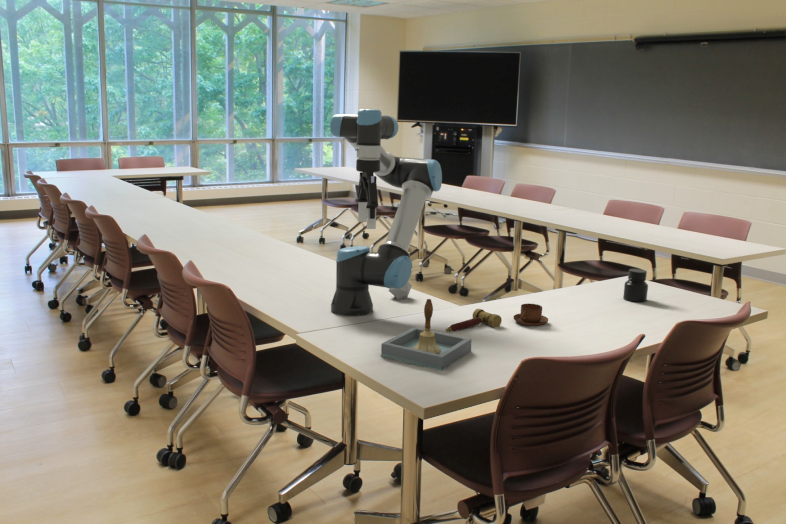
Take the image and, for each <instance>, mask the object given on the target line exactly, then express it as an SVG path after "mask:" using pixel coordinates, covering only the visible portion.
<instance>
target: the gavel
mask: <svg viewBox="0 0 786 524" xmlns="http://www.w3.org/2000/svg"><path fill="white" fill-rule="evenodd" d="M482 323H483V324H485V325H487V326H489V327H491V328H494V327H495V328H499V327H500V326H501V324H502V317H501V316H500V315H499V314H495V313H494V314H493V313H491V312H487V311H486V310H485V309H482V308H476V309H475V310H474V311H473V312H472V318H469V319H467V320H464V321H460V322H456V323H453V324H451V325H449V326H448V327H447V328H445V331H446V332H458V331H462V330H465V329H468V328H473V327H475V326H479V325H481V324H482ZM461 329H462V330H461ZM457 330H458V331H457Z"/></svg>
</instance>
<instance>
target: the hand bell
mask: <svg viewBox="0 0 786 524" xmlns="http://www.w3.org/2000/svg"><path fill="white" fill-rule="evenodd" d="M423 309H424V310H423V314H424V319H425V323H424V329H425V331H424V332H421V333H420V337H419V341H418V344H417V345H416V346H415V347H414V348H413V349H417V350H422V351H426V352H431V353H435V354H438V353H440V351H441V350H440V348H439V347H438V346H437V344H436V341H435V334H434V333H433V332H431V331H430V330H431V319H432V316H433V311H434V307H433V302H432V299H431V298H427V299H426V302H425V305H424V308H423Z"/></svg>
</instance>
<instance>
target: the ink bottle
mask: <svg viewBox="0 0 786 524" xmlns="http://www.w3.org/2000/svg"><path fill="white" fill-rule="evenodd" d="M647 273H648V271H647V270H645V269H641V268H629V269H628V277H627V280H626V281H625V282H624V285H623V286H624V287H623V295H622V296H623V299H624V300H625V301H629V302H633V303H644V302H647V299H648V289H649V285H648V283H647V282H646V281H647Z"/></svg>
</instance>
